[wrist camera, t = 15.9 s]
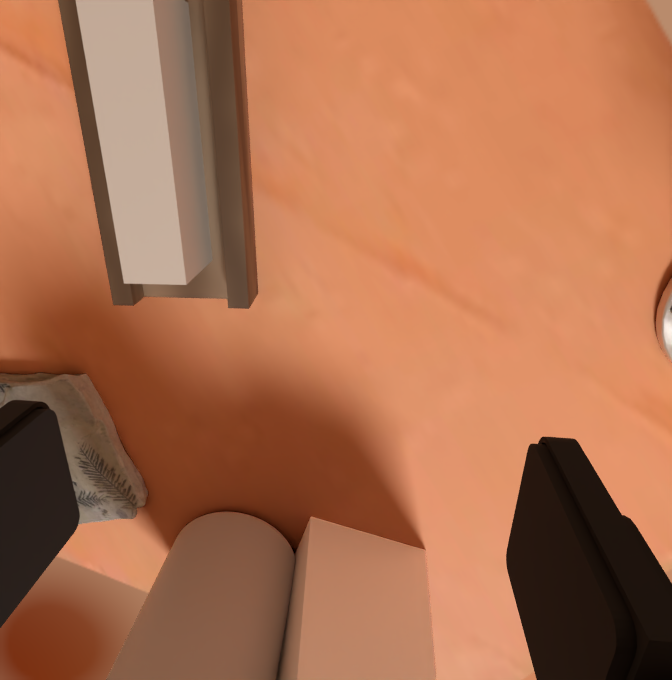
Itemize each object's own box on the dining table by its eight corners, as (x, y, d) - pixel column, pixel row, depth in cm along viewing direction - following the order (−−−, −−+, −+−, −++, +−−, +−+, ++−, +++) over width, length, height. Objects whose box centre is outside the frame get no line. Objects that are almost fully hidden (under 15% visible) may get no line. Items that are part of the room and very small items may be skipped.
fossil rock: (160, 499, 49) (151, 517, 47) (30, 525, 51) (15, 543, 49) (76, 343, 42) (61, 355, 40) (-70, 381, 45) (-92, 395, 43)
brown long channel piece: (238, -51, 30) (224, -71, 27) (258, 293, 39) (248, 308, 36) (78, -51, 31) (45, -71, 27) (133, 290, 40) (113, 305, 36)
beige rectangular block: (188, 2, 30) (150, -24, 25) (212, 260, 37) (186, 284, 31) (123, 2, 30) (71, -23, 25) (159, 259, 37) (123, 283, 31)
